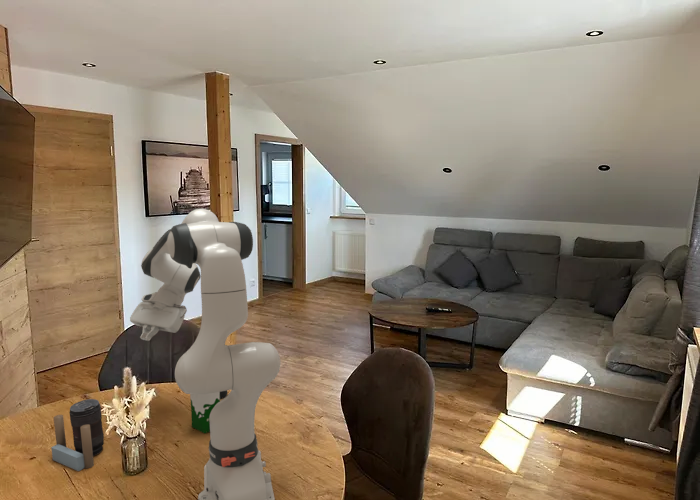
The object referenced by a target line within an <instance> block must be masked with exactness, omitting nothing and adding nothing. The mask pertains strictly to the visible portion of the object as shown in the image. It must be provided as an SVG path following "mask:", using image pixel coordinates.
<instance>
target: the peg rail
mask: <svg viewBox="0 0 700 500" xmlns="http://www.w3.org/2000/svg"><path fill="white" fill-rule="evenodd" d="M53 423H54V424H53V425H54V433H55V443H56V444H55V445H53V446H51V447H50V448H51V457H52V458H51V459H52V461H55V462H56V463H59V464H60V465H63V466H66V467H67V468H70V469H71V470H75V471H76V472H80V471H81V470H83V469H91V468H92V467H94V465H95V463H94V456H93V451H92V441H91V430H90V425H89V424H86V425H83V426H81V427H80V429H81V439H82V449H83V454H82V453H79V452H77V451H75V449H72V448H69V447H68V446H67V441H66V439H67V438H66V431H65V430H66V429H65V421H64V415H63V414H57V415H55V416H53Z"/></svg>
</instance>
